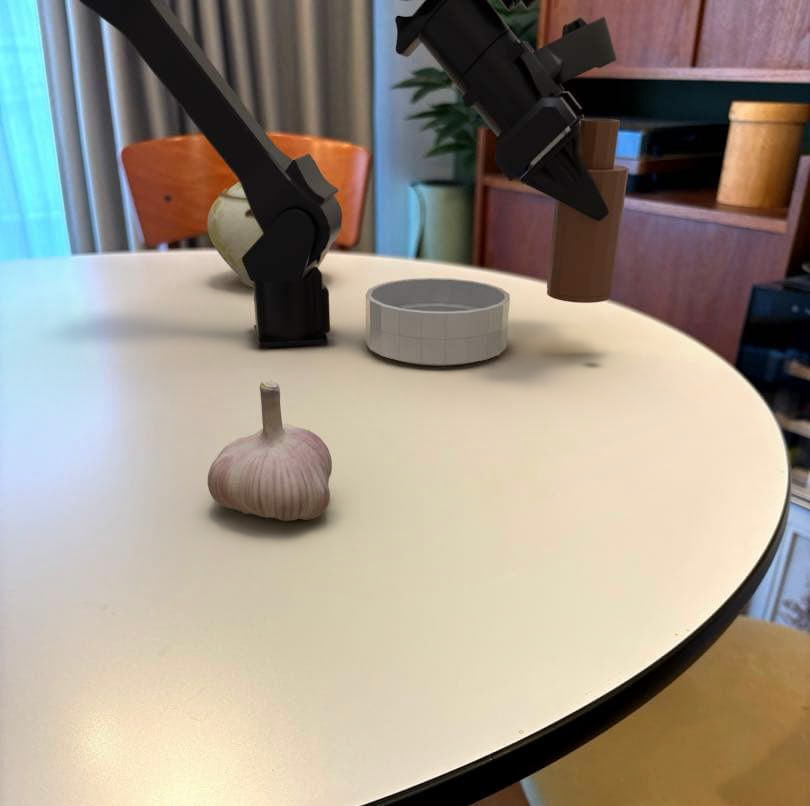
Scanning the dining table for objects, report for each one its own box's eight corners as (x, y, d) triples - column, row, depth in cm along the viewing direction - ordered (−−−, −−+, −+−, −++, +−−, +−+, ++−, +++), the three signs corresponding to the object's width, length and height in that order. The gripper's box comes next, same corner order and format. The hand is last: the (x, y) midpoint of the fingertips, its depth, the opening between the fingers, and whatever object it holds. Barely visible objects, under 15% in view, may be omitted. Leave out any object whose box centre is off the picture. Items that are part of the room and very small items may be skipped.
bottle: (596, 306, 70) (620, 123, 63) (535, 296, 73) (552, 119, 66) (620, 293, 75) (645, 120, 68) (562, 284, 77) (580, 116, 70)
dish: (382, 374, 71) (382, 316, 68) (355, 332, 82) (354, 281, 79) (525, 365, 73) (530, 308, 71) (480, 325, 84) (483, 275, 82)
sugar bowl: (345, 299, 93) (341, 153, 85) (209, 303, 91) (193, 154, 83) (331, 263, 110) (326, 138, 102) (216, 265, 108) (203, 138, 100)
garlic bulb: (347, 529, 47) (344, 396, 43) (217, 546, 45) (201, 409, 41) (321, 474, 54) (315, 353, 50) (206, 487, 52) (191, 363, 48)
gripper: (557, -40, 55) (697, 149, 58) (568, -17, 71) (678, 131, 74) (435, 92, 60) (571, 258, 64) (471, 86, 76) (578, 220, 79)
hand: (604, 211), depth 70 cm, fingers closed on bottle, 6 cm apart
